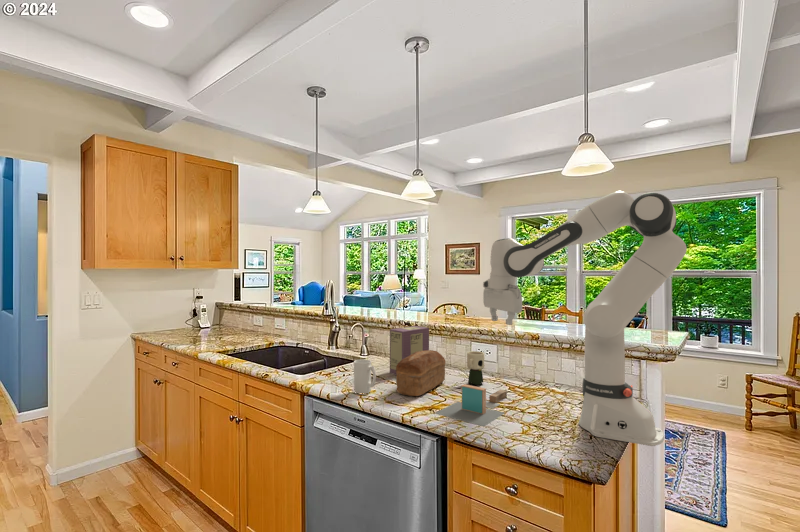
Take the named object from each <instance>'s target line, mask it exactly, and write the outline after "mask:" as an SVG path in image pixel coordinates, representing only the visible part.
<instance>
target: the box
mask: <svg viewBox="0 0 800 532" xmlns="http://www.w3.org/2000/svg"><path fill="white" fill-rule="evenodd" d="M424 350H430V328H429V327H425V326H418V325H412V326H411V325H410V326H405V327H398V328H397V327H396V328H391V329H389V374H393V375H396V366H397V364H398V363H399V362H400V361H401V360H402V359H404V358H406V357H408V356H409V355H411V354H413V353H415V352H418V351H424Z"/></svg>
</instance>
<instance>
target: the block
mask: <svg viewBox="0 0 800 532" xmlns="http://www.w3.org/2000/svg"><path fill="white" fill-rule="evenodd" d="M486 401H487V388H485V387H481V386H475V385H470V384H462V385H461V402H462V409H463V410H467V411H471V412H475V413H479V414H485V413H486V408H487V407H486Z"/></svg>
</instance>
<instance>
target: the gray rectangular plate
mask: <svg viewBox="0 0 800 532" xmlns="http://www.w3.org/2000/svg"><path fill="white" fill-rule="evenodd" d="M434 414H436V415H440V416H443V417H447V418H451V419H454V420H458V421H462V422H465V423H469V424H473V425H476V426H480V427H486V426H488V425H489V424H491V423H492V422H494V421H495V420H497V419H498V418H500V417H501V416H503V415H505V414H506V412H504V411H498V410H495V409H491V408H487V407H486V413H485V414H479V413H475V412H471V411H467V410H463V409H462V401H457V402H454V403H452V404H451V405H448V406H446V407H444V408H442V409H440V410H438V411H435V412H434Z"/></svg>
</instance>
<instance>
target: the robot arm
mask: <svg viewBox="0 0 800 532" xmlns="http://www.w3.org/2000/svg"><path fill="white" fill-rule="evenodd" d="M626 226H627V227H630V228H631V229H632V230H633V231H635V232H636V233H638V234H639V235H640V236H641V237H643V240H642V243H641V245H640V247H638V249H636V251H635V252H634V253H633V254H632V255H631V256H630V257H629V259H628V260H627V261H626V263H624V264H623V266H621V268H620V269H619V270H618V271H617V273H616V274H615V275H614V276H613V277H612V278H611V280H610V281H609V282H608V283H607V284H606V285H605V287H604V288H603V289H602V290H601V292H599V294H598V295H597V296H596V297H595V299H593V301H591V302H590V303H588V305H587V306H586V309H585V311H584V314H583V323H584V327H585V328H584V329H585V331H584V377H583V378H582V397H583V401H582V408H581V414H580V417H579V420H578V426H579V427H581V428H582V429H584V430H586V431H588V432H589V433H590V434H591V435H592V436H594V437H597V438H602V439H608V440H615V441H619V442H620V441H621V442H625V443H631V444H637V445H643V446H649V447H656V446H659V445H661V444H662V443H663V442H664V440H665V432H664V431H663V430H662V429H661V428H660V427H656V422H655V418H654V416H653V413H652V412H651V411H650V410H649V409H648V408H647V407H646V406H644V405H643V404H642V403H641V402H640V401H639V400H637V399H636V398H634V397H633V394H634V393H633V390H634V389H633V387H634V386H633V384H631V385H629V384H628V383H627V382H626V367H625V365H626V354H625V353H626V351H625V350H626V349H625V348H626V347H625V329H626V327H627V326H628V325H629V323H630V322H631V321H632V320H633V319H634V317H635V316H636V315H637V314H638V313H639V311H641V309H642V308H643V307H644V305H645V304H646V303H647V302H648V300H649V299H650V298H651V297H652V296H653V294H655V293H656V291H658V289H659V288H660V287H661V286H662V285H663V284H664V283H665V282H666V281H667V279H669V278H670V276H671V275H672V274H673V272H675V270H677V267H678V266H679V265H680V263H681V262H682V260H683V258H684V257H685V255H686V253H687V250H688V249H687V245H686V242H685V241H684V240H683V239H682V238H681V237H680V236H679V235H677V234H675V233H674V231H675V229H676V226H677V212H676V209H675V207H674V205H673V203H672V201H671V200H670V199H669V198H668V197H667V196H665V195H663V194H661V193H658V192H647V193H646V192H645V193H643V194H641V195H639V196H637V197H636V198H635V199H634V198H633V196H631V194H629V193H627V192H626V191H622V190H616V191H614V192H611V193H609V194H606V195H604V196H601V197H600V198H598V199H596V200H594V201H593V202H591V203H590V204H588V205H586V206H584V207H583V208H582V209H580V210H579V211H577V212H576V213H575V214H574V215H572V216H571V217H570V218H568V219H567V220H566V221H564V222H563V223H562V224H560V225H559V226H558V227H556V228H554V229H553V230H551V231H550V232H548V233H546V234H544V235H543V236H541V237H539V238H538V239H536V240H534V241H532V242H531V243H528V244H521V242H520V243H519V242H518V241H516V239H514V238H509V237H508V238H501V239H500V238H499V239H497V240H495V241H493V243H492V245H491V250H490V264H489V265H490V268H491V269H490V270H491V271H490V274H489V278H488V279H486V280H485V281H483V283H482V287H483V288H484V289H483V295H482V296H483V297H482V298H483V299H482V301H483V305H484V307H485V308H489V312H490V315H491V321H493V322H498V321H499V320H498V319H499V318H498V315H497V310H499V311H504V312H507V318H505V324H506V325H507V326H512V325H513V320H514V318H515V314H517V313H518V314H519V313H521V312H522V311H523V298H522V292H521V290H520V288H519V286H518V285H516V278H524V277H528V276H529V277H530V276H534V275H536V274H539V273H540V272H541V271H542V270H543V268H544V265H545V258H547V257H549V256H551V255H553V254H554V253H556V252H558V251H560V250H562V249H564V248H566V247H567V248H568V247H569V246H570V247H571V246H575V245H584V244H589V243H591V242H594V241H597V240H599V239H602V238H604V237H605V236H607V235H609V234H611V233H612V232H614V231H616V230H617V229H619V228H622V227H626Z"/></svg>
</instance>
